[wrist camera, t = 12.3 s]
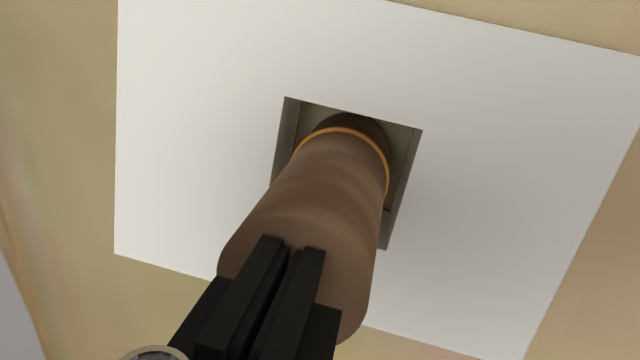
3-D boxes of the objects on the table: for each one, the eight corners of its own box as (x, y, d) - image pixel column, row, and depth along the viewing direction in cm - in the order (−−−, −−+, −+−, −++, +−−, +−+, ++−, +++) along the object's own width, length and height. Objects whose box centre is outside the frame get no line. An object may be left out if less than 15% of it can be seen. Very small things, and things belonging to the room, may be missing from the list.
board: (620, 51, 19) (671, 63, 15) (500, 314, 24) (517, 369, 21) (171, -48, 21) (119, -58, 17) (155, 217, 26) (114, 253, 22)
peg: (403, 117, 21) (392, 241, 10) (381, 196, 23) (352, 373, 12) (318, 96, 22) (221, 194, 11) (302, 175, 23) (205, 328, 12)
